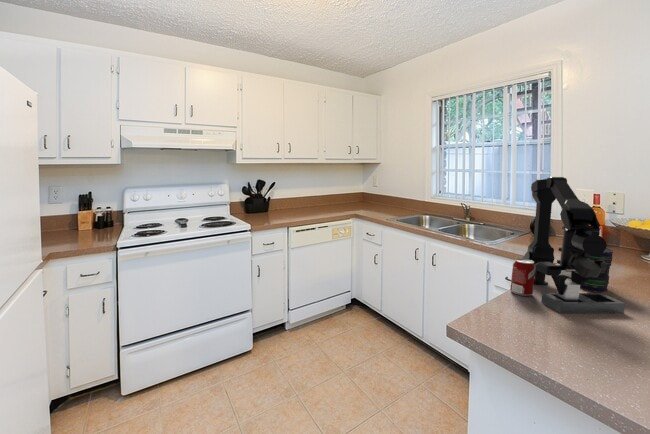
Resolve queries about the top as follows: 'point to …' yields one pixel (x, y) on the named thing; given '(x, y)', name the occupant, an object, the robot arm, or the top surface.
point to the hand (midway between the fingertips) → (567, 294)
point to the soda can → (523, 277)
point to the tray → (584, 303)
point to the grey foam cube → (570, 291)
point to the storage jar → (601, 281)
